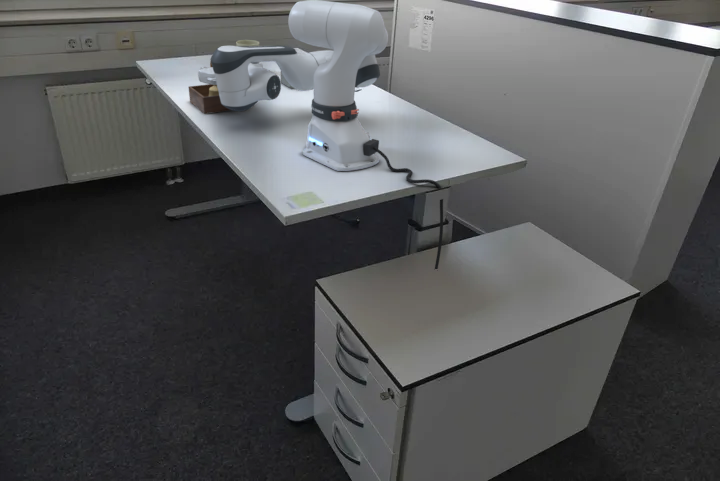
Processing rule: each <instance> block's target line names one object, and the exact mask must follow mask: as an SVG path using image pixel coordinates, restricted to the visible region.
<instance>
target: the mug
mask: <svg viewBox="0 0 720 481" xmlns="http://www.w3.org/2000/svg"><path fill="white" fill-rule="evenodd" d="M235 46H260V41H258V40H253V39H240V40H237V41H236V42H235Z"/></svg>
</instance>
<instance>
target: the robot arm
mask: <svg viewBox="0 0 720 481" xmlns="http://www.w3.org/2000/svg"><path fill="white" fill-rule="evenodd" d="M287 20H288V22H287V23H288V29H289V32H290V34H291V36H292V37H293V38H294V39H295V40H296V41H299V42H301V43H305V44H307V45H310V46H313V47H319V48H324V49H325V50H315V51H309V52H305V53H302V52H301V53H300V52H298V51H297V50H296V49H295V48H294V47H291V46H289V45H259V46H236V45H222V46H217V47H216V49H215V50H214V51H213V53H212V55H211V56H212V57H210V59H209V61H211V64H212V67H210V66H209V67H206V66H202V67H200V68H199V69H198V71H197V75H198V76H197V77H198V81H199V82H200V83H203V84H206V85H207V84H211V85H217V88H218V91H219V96H220V100H221V104H222V105H223V106H224V107H226V108H228V109H230V110H229V111H234V112H244V111H247V110H249V109H251V108H253V107H254V106H255V105H256V104H257V103H258V102H259V101H273V100H276V99H277V98H278V97H279V96H280V93H281V90H282V83H281V77H280V76H279V75H278V74H276V73H275V72H274V71H273V70H270V69H267V68H264V67H263V66H264V65H263V63H265V62H275V64H276V65H277V67H278V69H279V70H280V73H281V72H282V74H283V76H284V78H285V79H286V81H287V82H288V83H289V84H290V85H291V86H292V87H293V89H294V90H296V91H300V92H307V91H308V92H309V91H313V98H312V99H311V106H310V107H311V114H312V116H311V120H310V121H309V123H308V126H307V133H306V134H307V135H306V146H305V148H304V149H303V150H302V155H303V156H305V157H307V158H309V159H311V160H313V161H315V162H318V163H319V164H321V165H323V166H326V167H328V168H330V169H332V170H334V171H338V172H352V171H357V170H358V171H359V170H363V169H367V168H371V167H373V166H375V165H377V164H379V163H380V158H379V157H378V156H377V155H376V153H377V154H379V155H380V156H381V157H382V158H383V159H384V160H385V162H386V166H387V167H388V169H389V170H390V171H392V172H395V173H402V172H407V175H406V177H405V179H406V182H409V183H410V184H431V185H434V186H435V187H436V188H437V189H439V190H441V189H442V186H441V185H440V183H438V182H437V181H436V180H433V179H412V178H410V177H411V176H412V175H413V170H412V169H410V168H407V167H403V168H394V167H393V166H392V165H391V162H390V160H389V157H388V156H387V155H386V154H385V153H384V152H383V151H382V150H380V149H379V148H380V146H379V145H380V140H379V139H376V138H372V139H371V134H370V133H369V132H366V129H365V128H364V126H363V125H362V123H361V121H360V120H359V119H358V115H359V114H360V112H358V111H360V109H359V108H358V107H357V103H356V101H355V91H356V89H360V88H366V87H369V86H371V85H373V84H374V83H375V82H376V81H378V79H379V78H380V76H381V70H380V65H379V64H378V61H377V58H376V57H377V56H376V55H379V54H380V53H382V52H383V51H384V50H385V49H386V47H387V46H388V43H389V32H388V30H387V28H386V25H385V20H384V17H383V15H382V14H381V12H380V11H379V10H376V9H373V8H371V7H368V6H365V5H362V4H354V3H347V2H338V1H329V0H300V1H297V2H296V3H295V4H294V5H293V6H292V8H291V9H290V11H289V14H288V19H287ZM326 49H327V50H326ZM443 234H444V198H441V199H439V235H438V245H437V252H436V253H437V254H436V260H435V264H434V270H435V269H439V263H440V257H441V252H442V245H443Z"/></svg>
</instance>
